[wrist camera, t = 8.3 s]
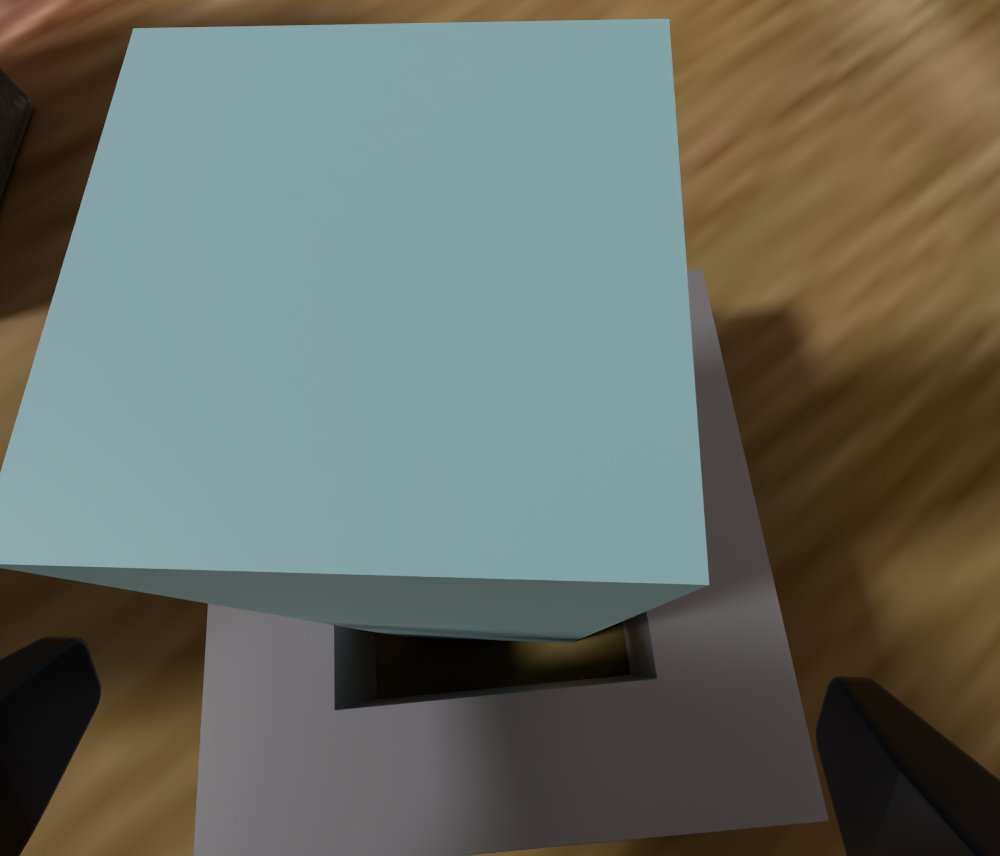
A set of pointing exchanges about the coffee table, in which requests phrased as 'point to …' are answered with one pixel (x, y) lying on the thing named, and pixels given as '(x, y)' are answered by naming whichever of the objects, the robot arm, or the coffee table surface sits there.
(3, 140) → the chalk box
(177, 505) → the peg
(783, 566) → the coffee table surface
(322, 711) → the socket
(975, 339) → the coffee table surface
